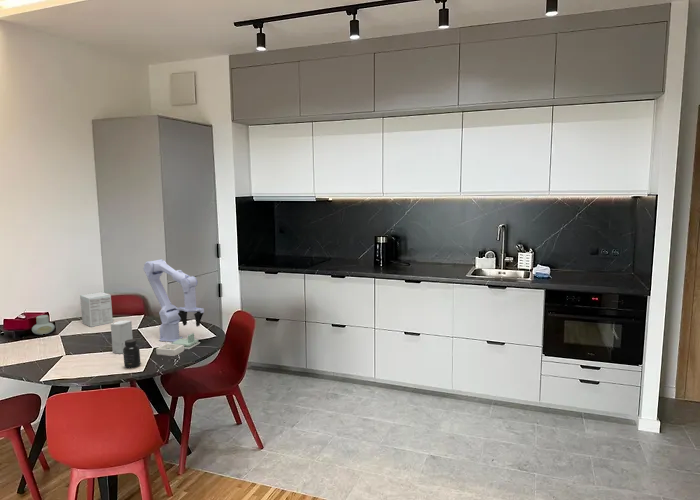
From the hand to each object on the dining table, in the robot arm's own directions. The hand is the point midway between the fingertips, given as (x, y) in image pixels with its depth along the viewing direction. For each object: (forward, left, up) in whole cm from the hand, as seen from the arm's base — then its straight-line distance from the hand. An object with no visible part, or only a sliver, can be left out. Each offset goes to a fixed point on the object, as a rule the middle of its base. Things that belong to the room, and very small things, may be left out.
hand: (191, 325), depth 254 cm
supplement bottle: (-8, -36, -10) cm, 38 cm away
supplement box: (-79, +22, -10) cm, 83 cm away
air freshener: (-93, -3, -10) cm, 94 cm away
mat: (-2, -4, -9) cm, 10 cm away
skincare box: (-27, -19, -10) cm, 34 cm away
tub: (-2, -16, -9) cm, 19 cm away
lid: (-2, -4, -9) cm, 10 cm away
